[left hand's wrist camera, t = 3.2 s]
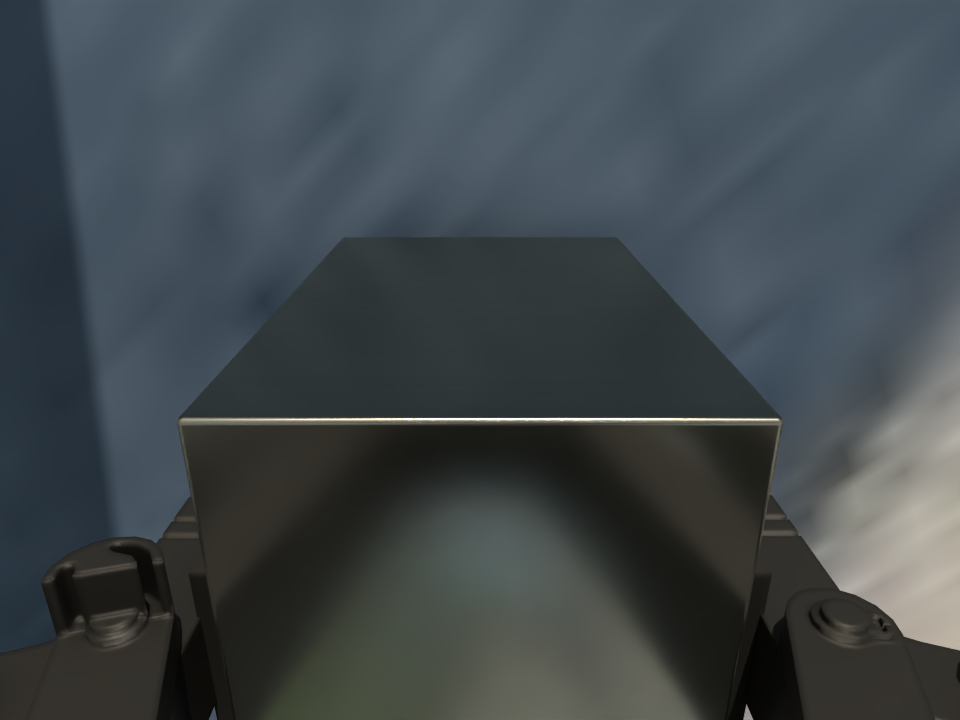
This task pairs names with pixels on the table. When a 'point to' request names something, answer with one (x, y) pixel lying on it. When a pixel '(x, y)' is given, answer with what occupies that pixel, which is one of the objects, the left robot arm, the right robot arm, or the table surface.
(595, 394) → the bar
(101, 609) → the left robot arm
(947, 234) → the table surface
